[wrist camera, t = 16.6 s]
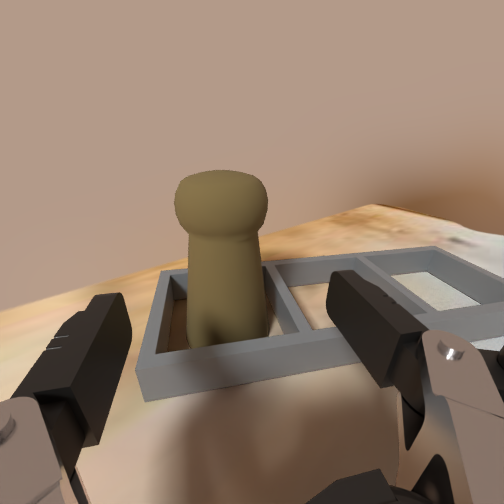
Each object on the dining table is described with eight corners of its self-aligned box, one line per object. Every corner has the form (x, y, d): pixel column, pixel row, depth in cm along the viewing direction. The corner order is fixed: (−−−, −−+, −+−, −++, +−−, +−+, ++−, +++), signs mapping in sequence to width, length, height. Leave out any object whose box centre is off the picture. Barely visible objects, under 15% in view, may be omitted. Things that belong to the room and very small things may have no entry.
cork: (208, 296, 21) (197, 164, 16) (276, 309, 20) (286, 168, 15) (168, 349, 16) (134, 177, 11) (256, 372, 14) (260, 186, 10)
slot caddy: (426, 266, 26) (434, 245, 25) (535, 330, 18) (554, 302, 17) (165, 295, 21) (160, 271, 20) (144, 402, 13) (135, 370, 12)
